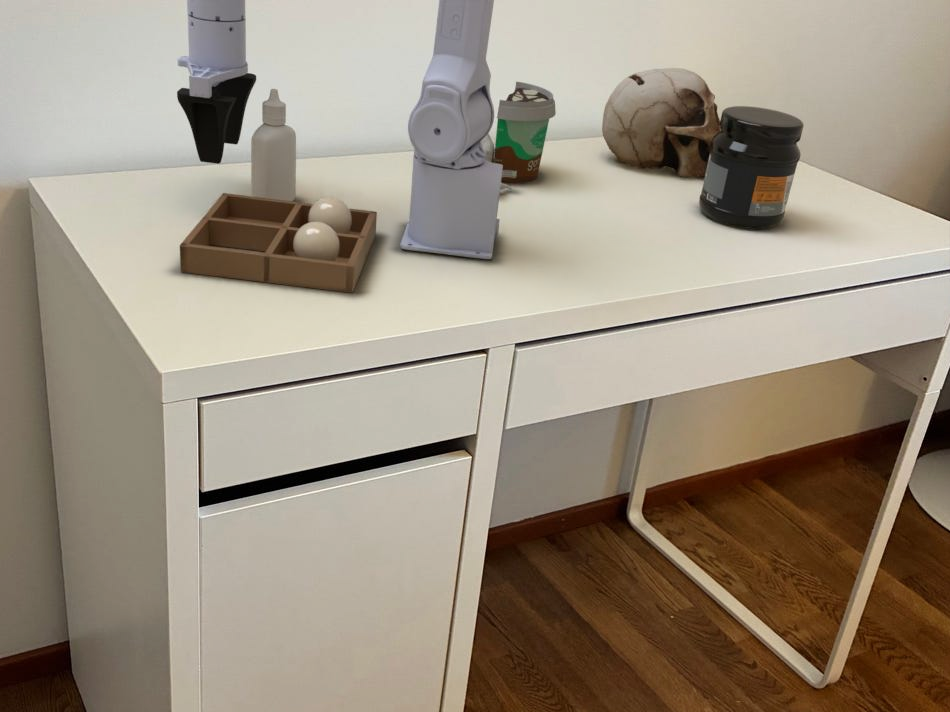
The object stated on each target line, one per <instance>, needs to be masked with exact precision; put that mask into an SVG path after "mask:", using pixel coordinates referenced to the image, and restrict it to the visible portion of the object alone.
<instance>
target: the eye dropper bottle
mask: <svg viewBox="0 0 950 712" xmlns="http://www.w3.org/2000/svg"><path fill="white" fill-rule="evenodd" d="M261 106H262V107H261V110H262V113H261V114H262V115H261V117H262V124H260V125H259V127H257V128H256V129H255V131H254V133H253V134H252V136H251V141H250V142H251V144H250V145H251V146H250V147H251V148H250V149H251V150H250V167H251V168H250V174H251V175H250V177H251V178H250V179H251V181H250V182H251V186H250V187H251V188H250V189H251V190H250V191H251V192H250V193H251V195H250V196H252V197H260V198H268V199H276V200H285V201H293V202H295V198H296V196H297V195H296V193H297V191H296V189H297V187H296V186H297V134H296V131H295V130H294V128H293V127H291V126H289V125H287V124H286V123H287V104H286V103H285V102H284V101H282V100H281V99H280V97H279V90H278V89H277V88H271V89H270V92H269V96H268V98H267V99H266V100H264V101H263V102H262V105H261Z"/></svg>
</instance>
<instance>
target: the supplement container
mask: <svg viewBox="0 0 950 712" xmlns="http://www.w3.org/2000/svg"><path fill="white" fill-rule="evenodd" d="M804 126H805V125H804V122H803V121H802V120H801V119H800V118H799V117H797V116H795V115H792V114H789V113H786V112H783V111H779V110H775V109H770V108H764V107H757V106H747V105H740V106H739V105H736V106H735V105H734V106H729V107H728V106H727V107H726V108H723V110H722V112H721V116H720V125H719V127H720V129H721V131H719V132H718V133H717V134H716V135H715V136H714V137H713V138H712V141H711V151H710V156H709V160H708V165H707V169H706V174H705V177H704V179H703V184H702V188H701V193H700V195H699V199H698V205H699V208H700V210H701V211H702V212H703V214H705V215H706V216H707V217H708V218H710V219H712V220H714V221H716V222H719V223H721V224H724V225H727V226H732V227H736V228H743V229H754V230H755V229H758V230H760V229H768V228H772V227H775V226H777V225H779V224H780V223H782V221H783V219H784V217H785V215H786V208H787V205H788V201H789V197H790V192H791V188H792V185H793V182H794V179H795V173H796V169H797V166H798V163H799V162H800V159H801V149H800V148H799V146H798V143H799V142H800V141H801V137H802V134H803V130H804Z"/></svg>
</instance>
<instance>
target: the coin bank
mask: <svg viewBox="0 0 950 712" xmlns="http://www.w3.org/2000/svg"><path fill="white" fill-rule="evenodd" d="M715 99H716V95H715V94H714V93H713V92H712V91H711V90H710V87H709V86H708V84H707V82H706V80H705V79H704V78H702V76H700V75H699V74H698V73H696V72H694V71H692V70H689V69H686V68H678V67H668V68H652V69H646V70H643V71H638V72H635V73H633V74H631V75H628V76H626V77H625V78H624V79H622V80H621V81H620V82H619V83H618V84H617V85H616V86H615V88H614V89H613V91H612V92H611V94H610V96H609V97H608V99H607V100H606V103H605V106H604V109H603V115H602V125H601V132H602V136H603V139H604V141H605V143H606V145H607V147H608V149H609V150H610V151H611V153H612V154H613V155H615V158H616V159H617V161H619V162H620V163H623V164H625V165H629V166H630V167H636V168H637V169H663V168H666V167H667V168H669V169H672V170H674V171H675V172H676V175H678V176H680V177H684V178H687V177H690V176H694V177H700V178H705V174H706V169H707V165H708V160H709V156H710V151H711V141H712V138H713V137H714V136H715V135H716V134H717V133H718V132H719V131H721V129H720V127H719V125H720V120H721V118H720V117H719V113H718V104H717V103H715Z"/></svg>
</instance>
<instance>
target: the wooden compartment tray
mask: <svg viewBox="0 0 950 712" xmlns="http://www.w3.org/2000/svg"><path fill="white" fill-rule="evenodd" d="M313 204H314V203H308V202H300V201H285V200H276V199H268V198H260V197H252V196H251V195H243V194H234V193H226V192H223V193H222V194H221V195H220V196H219V197H218V199H217V200H216V201H215V202H214V203H213V205H212V206H211V207H210V208H209V209H208V211H207V212H206V213H205V214H204V215H203V217H202V218H201V219H200V220H199V222H198V223H197V224H196V225H195V226H194V227H193V229H192V230H191V231H190V232H189V233H188V235H186V237H185V238H184V239H183V241H182V242H181V243H180V244H179V259H180V260H179V261H180V264H179V265H180V273H186V274H195V275H203V276H212V277H219V278H227V279H236V280H244V281H253V282H261V283H268V284H275V285H276V284H277V285H286V286H292V287H301V288H309V289H316V290H317V289H318V290H326V291H336V292H342V293H350V294H353V293H354V290H355V288H356V285H357V283H358V280H359V277H360V276H361V273H362V271H363V268H364V266H365V263H366V260H367V258H368V256H369V253H370V251H371V249H372V246H373V243H374V241H375V239H376V236H377V217H378V212H377V211H373V210H365V209H357V208H350V207H348V208H349V210H350V212H351V215H352V225H351V229H350V231H349V232H348V234H343V233H336V234H337V236H338V238H339V242H340V250H339V254H338V257H337V258H336V260H335V261H326V260H318V259H309V258H301V257H296V255H295V252H294V249H293V240H294V237H295V234H296V232H297V231H298V230H299V228H300V227H302V226H303V225H305V224H307V223H308V215H309V211H310V209H311V207H312V205H313Z"/></svg>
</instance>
